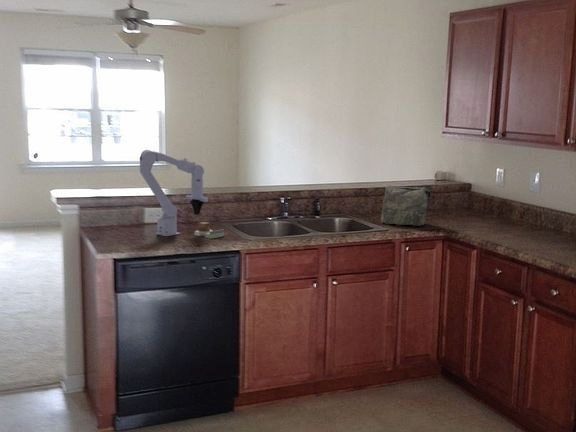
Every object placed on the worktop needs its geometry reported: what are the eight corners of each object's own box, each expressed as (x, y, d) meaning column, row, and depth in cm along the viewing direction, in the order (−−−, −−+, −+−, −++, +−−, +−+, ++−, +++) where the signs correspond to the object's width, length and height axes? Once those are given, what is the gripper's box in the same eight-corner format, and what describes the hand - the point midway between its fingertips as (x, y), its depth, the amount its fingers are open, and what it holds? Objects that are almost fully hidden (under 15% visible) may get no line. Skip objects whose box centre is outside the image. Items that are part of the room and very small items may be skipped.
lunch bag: (430, 223, 389) (432, 186, 386) (423, 228, 373) (426, 189, 369) (386, 219, 399) (388, 183, 395) (378, 224, 382) (380, 186, 379)
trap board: (210, 238, 329) (210, 231, 328) (194, 235, 337) (194, 228, 336) (223, 236, 336) (223, 229, 335) (207, 232, 343) (208, 226, 343)
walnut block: (203, 231, 336) (203, 223, 335) (198, 230, 338) (198, 222, 338) (209, 230, 339) (209, 223, 338) (204, 229, 341) (204, 221, 341)
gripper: (212, 188, 337) (212, 215, 339) (193, 186, 346) (193, 211, 349) (201, 190, 332) (201, 216, 334) (183, 187, 341) (183, 213, 343)
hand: (196, 214), depth 341 cm, fingers closed
